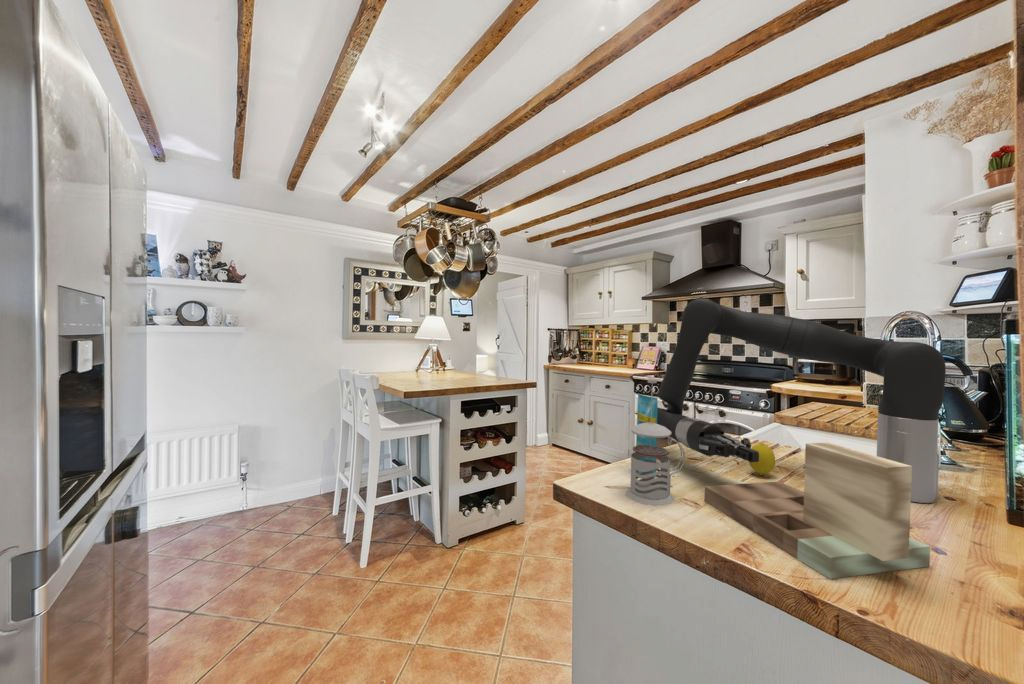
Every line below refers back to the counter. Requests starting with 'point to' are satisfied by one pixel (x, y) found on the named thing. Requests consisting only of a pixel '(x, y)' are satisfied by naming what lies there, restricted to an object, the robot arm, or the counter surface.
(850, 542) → the block
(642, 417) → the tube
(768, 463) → the lemon
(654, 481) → the french press
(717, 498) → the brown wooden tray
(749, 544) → the counter surface
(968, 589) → the counter surface
